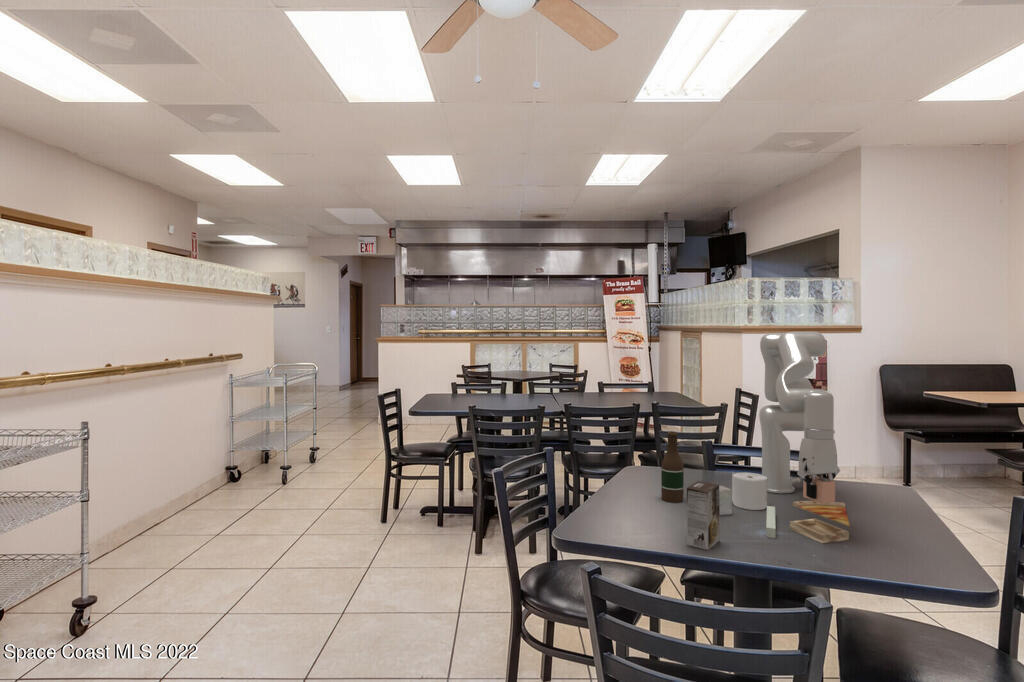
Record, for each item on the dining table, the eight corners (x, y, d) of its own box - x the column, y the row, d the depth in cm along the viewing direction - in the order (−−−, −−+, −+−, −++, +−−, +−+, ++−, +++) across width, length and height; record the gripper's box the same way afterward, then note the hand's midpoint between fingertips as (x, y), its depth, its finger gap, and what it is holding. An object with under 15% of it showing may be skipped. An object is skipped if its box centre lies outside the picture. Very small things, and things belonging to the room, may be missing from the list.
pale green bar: (766, 514, 179) (766, 505, 179) (775, 515, 178) (775, 506, 178) (766, 537, 159) (766, 527, 159) (775, 538, 158) (775, 528, 158)
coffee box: (698, 535, 161) (697, 480, 161) (720, 540, 157) (720, 484, 157) (685, 545, 154) (685, 487, 154) (708, 550, 150) (708, 491, 150)
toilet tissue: (762, 512, 181) (762, 482, 181) (725, 505, 188) (725, 476, 188) (770, 504, 190) (770, 475, 190) (733, 498, 197) (733, 470, 197)
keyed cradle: (815, 525, 168) (815, 518, 168) (848, 539, 157) (848, 531, 157) (789, 529, 166) (789, 521, 166) (822, 543, 154) (822, 535, 154)
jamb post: (721, 509, 185) (721, 485, 184) (731, 514, 180) (731, 489, 180) (708, 510, 183) (708, 486, 183) (718, 515, 178) (718, 490, 178)
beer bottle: (686, 502, 192) (686, 433, 192) (664, 502, 192) (664, 434, 192) (680, 496, 200) (680, 430, 199) (658, 496, 200) (658, 430, 200)
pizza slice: (791, 520, 175) (791, 514, 175) (792, 501, 194) (792, 496, 194) (849, 528, 167) (849, 522, 167) (844, 508, 187) (844, 502, 187)
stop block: (815, 495, 165) (815, 473, 165) (835, 502, 158) (835, 479, 158) (803, 496, 164) (803, 474, 164) (822, 503, 157) (822, 480, 157)
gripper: (831, 430, 167) (831, 491, 167) (785, 433, 162) (785, 495, 162) (852, 435, 160) (852, 498, 160) (805, 438, 155) (805, 503, 155)
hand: (818, 496), depth 161 cm, fingers closed on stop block, 4 cm apart
